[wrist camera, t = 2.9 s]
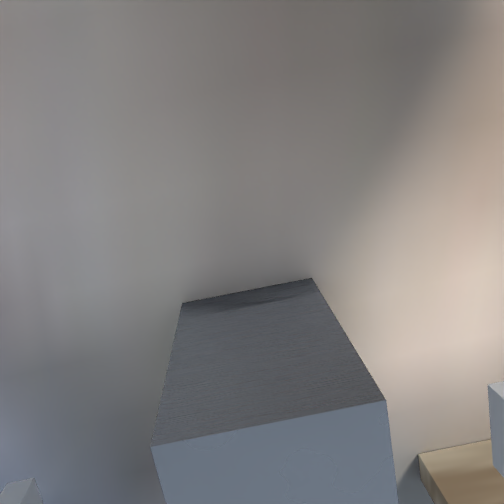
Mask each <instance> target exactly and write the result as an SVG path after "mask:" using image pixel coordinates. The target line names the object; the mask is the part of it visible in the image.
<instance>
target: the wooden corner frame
mask: <svg viewBox="0 0 504 504" xmlns="http://www.w3.org/2000/svg"><path fill="white" fill-rule="evenodd" d="M418 457H419V467H420V476H421V481H422V483H423V484H424V486H425V488H426V490H427V491H428V493H429V495H430V497H431V498H432V500H433V502H434V504H504V478H503V476H502V475H501V474H500V473H499V472H498V471H497V469H496V468H495V467H494V466H493V459H492V444H491V440H486V441H481V442H476V443H471V444H466V445H461V446H456V447H451V448H446V449H441V450H436V451H431V452H426V453H421V454H418Z"/></svg>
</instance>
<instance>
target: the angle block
mask: <svg viewBox="0 0 504 504" xmlns="http://www.w3.org/2000/svg"><path fill="white" fill-rule="evenodd" d="M150 448H151V452H152V455H153V459H154V462H155V466H156V470H157V473H158V477H159V480H160V484H161V487H162V491H163V494H164V498H165V502H166V504H399V502H398V494H397V486H396V478H395V469H394V461H393V453H392V445H391V437H390V428H389V420H388V412H387V404H386V399H385V398H384V396H383V394H382V393H381V391H380V389H379V388H378V386H377V384H376V383H375V381H374V379H373V378H372V376H371V375H370V373H369V371H368V370H367V368H366V366H365V365H364V363H363V361H362V360H361V358H360V356H359V355H358V353H357V351H356V350H355V348H354V347H353V345H352V343H351V342H350V340H349V338H348V337H347V335H346V333H345V332H344V330H343V328H342V327H341V325H340V323H339V322H338V320H337V319H336V317H335V315H334V314H333V312H332V310H331V309H330V307H329V305H328V304H327V302H326V300H325V299H324V297H323V296H322V294H321V292H320V291H319V289H318V287H317V286H316V284H315V282H314V281H313V279H312V278H309V279H303V280H298V281H293V282H288V283H283V284H278V285H273V286H268V287H262V288H257V289H252V290H247V291H242V292H237V293H232V294H227V295H221V296H216V297H211V298H206V299H201V300H196V301H191V302H186V303H182V307H181V311H180V316H179V320H178V325H177V329H176V334H175V338H174V343H173V347H172V352H171V356H170V361H169V365H168V370H167V374H166V379H165V383H164V387H163V392H162V396H161V401H160V405H159V410H158V414H157V419H156V423H155V428H154V432H153V437H152V441H151V446H150Z"/></svg>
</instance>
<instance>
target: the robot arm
mask: <svg viewBox="0 0 504 504" xmlns="http://www.w3.org/2000/svg"><path fill="white" fill-rule="evenodd" d="M488 398H489V413H490V429H491V444H492V459H493V466H494V467H495V468H496V469H497V471H498V472H499V473H500V474H501V475H502V476H503V478H504V381H501V382H496V383H492V384H488ZM0 504H43V501H42V498H41V495H40V493H39V490H38V487H37V484H36V481H35V478H30V479H26V480H21V481H16V482H11V483H7V484H6V486H5V488H4V489H3V491H2V492H1V494H0Z"/></svg>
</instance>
